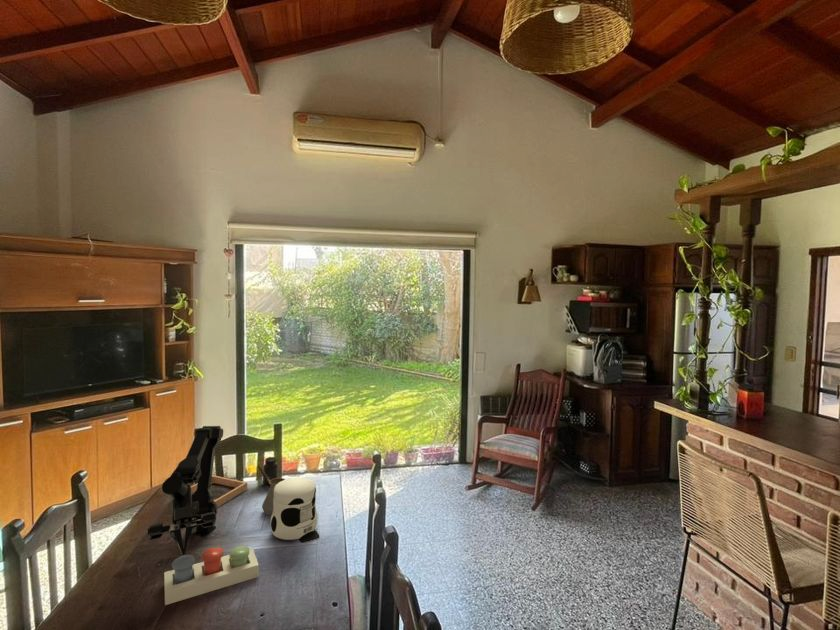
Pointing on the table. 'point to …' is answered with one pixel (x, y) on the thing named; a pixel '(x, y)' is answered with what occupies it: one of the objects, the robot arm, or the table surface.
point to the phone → (310, 537)
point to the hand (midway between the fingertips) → (183, 554)
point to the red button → (212, 561)
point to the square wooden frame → (237, 484)
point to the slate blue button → (183, 568)
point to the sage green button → (239, 556)
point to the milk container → (294, 509)
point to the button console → (209, 579)
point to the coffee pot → (269, 493)
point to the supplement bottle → (270, 470)
